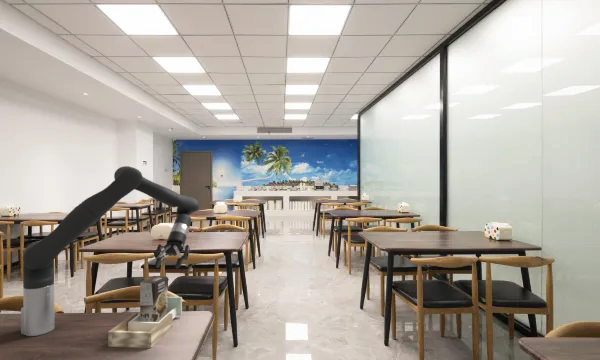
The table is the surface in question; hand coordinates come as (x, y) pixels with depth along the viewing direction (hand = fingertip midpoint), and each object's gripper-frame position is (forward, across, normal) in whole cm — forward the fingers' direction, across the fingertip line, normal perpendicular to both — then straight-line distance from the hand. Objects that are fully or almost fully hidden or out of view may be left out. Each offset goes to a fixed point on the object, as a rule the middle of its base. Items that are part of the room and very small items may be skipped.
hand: (167, 267), depth 145 cm
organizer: (+28, 0, 0) cm, 28 cm away
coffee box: (+20, 0, +5) cm, 21 cm away
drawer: (+21, 0, +6) cm, 21 cm away
